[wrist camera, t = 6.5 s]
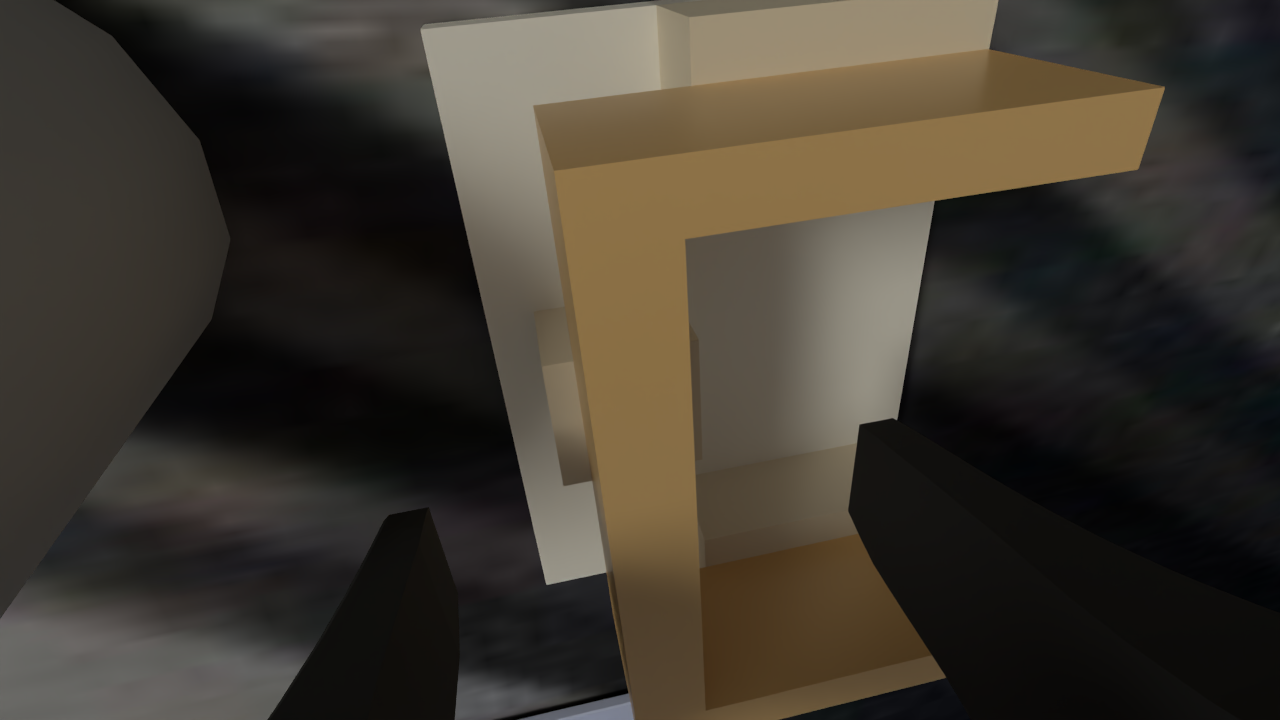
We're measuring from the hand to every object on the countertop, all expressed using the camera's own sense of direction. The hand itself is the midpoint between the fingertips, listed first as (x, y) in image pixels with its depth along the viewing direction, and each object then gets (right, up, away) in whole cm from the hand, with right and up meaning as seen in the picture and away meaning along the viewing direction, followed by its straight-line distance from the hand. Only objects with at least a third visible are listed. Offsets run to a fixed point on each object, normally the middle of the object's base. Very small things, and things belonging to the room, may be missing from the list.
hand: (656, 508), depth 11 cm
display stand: (+1, +3, +5) cm, 6 cm away
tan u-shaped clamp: (+2, +2, +2) cm, 4 cm away
